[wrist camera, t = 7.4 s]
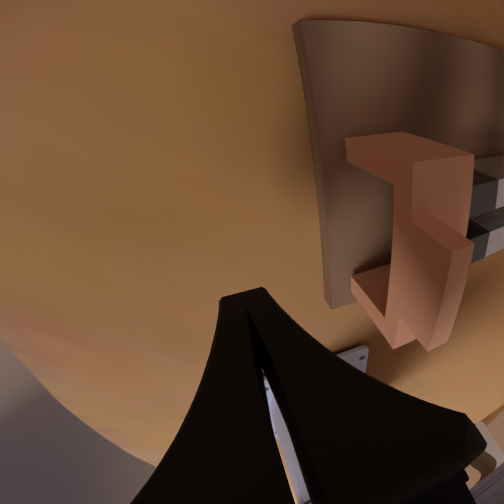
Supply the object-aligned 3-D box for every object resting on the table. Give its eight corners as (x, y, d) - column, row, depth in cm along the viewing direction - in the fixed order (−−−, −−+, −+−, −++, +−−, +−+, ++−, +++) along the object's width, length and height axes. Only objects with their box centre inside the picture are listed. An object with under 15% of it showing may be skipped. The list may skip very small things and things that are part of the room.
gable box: (482, 418, 48) (530, 496, 24) (470, 436, 55) (510, 505, 31) (406, 469, 48) (449, 557, 24) (402, 479, 55) (438, 555, 31)
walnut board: (551, 73, 12) (559, 74, 11) (543, 215, 19) (550, 220, 18) (291, 25, 10) (299, 20, 9) (324, 298, 17) (331, 309, 16)
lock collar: (401, 131, 12) (518, 172, 6) (397, 275, 16) (469, 353, 10) (344, 138, 11) (461, 184, 6) (350, 291, 15) (416, 382, 10)
